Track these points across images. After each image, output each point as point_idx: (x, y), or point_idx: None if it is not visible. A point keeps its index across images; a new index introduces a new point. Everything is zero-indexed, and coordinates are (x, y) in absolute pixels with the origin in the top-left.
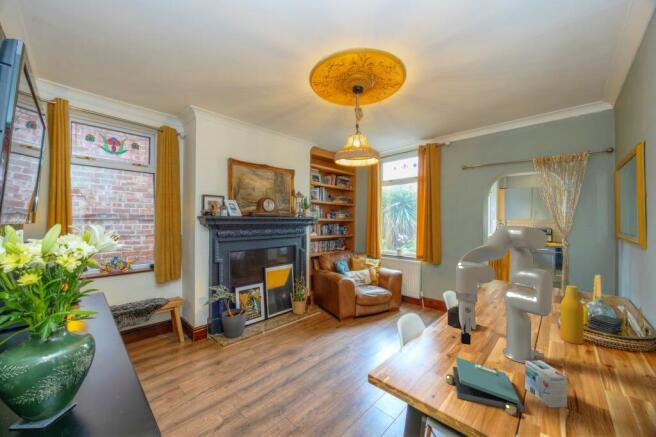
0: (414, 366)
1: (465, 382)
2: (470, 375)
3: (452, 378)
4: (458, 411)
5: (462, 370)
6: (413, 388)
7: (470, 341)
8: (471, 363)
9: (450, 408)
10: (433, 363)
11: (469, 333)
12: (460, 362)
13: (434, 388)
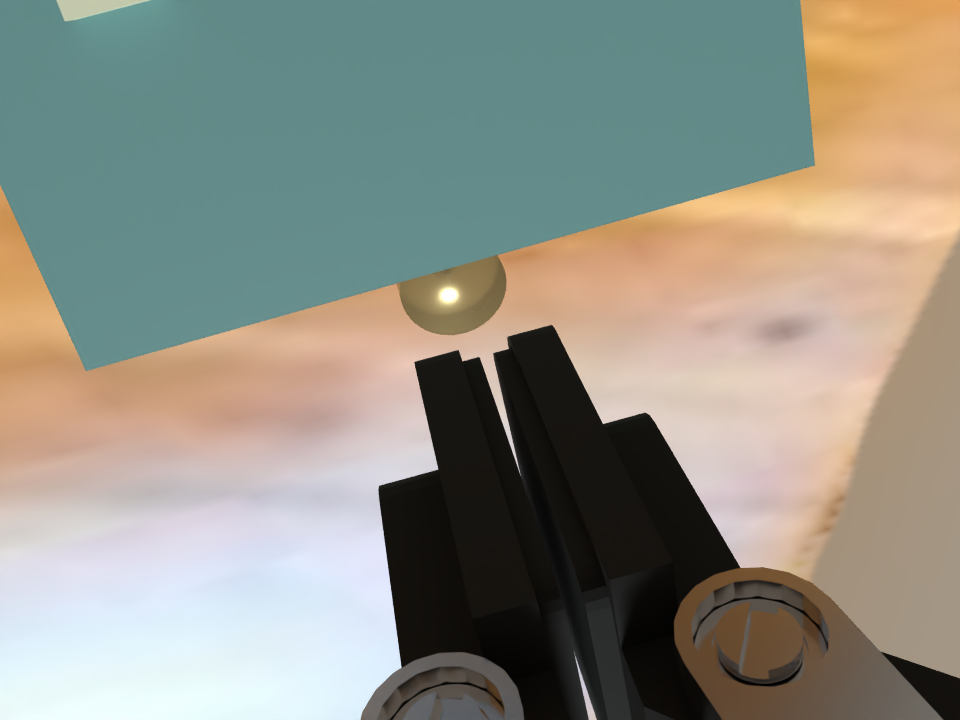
0: (348, 617)
1: (798, 95)
2: (549, 55)
3: (489, 257)
4: (943, 69)
5: (497, 194)
6: (741, 492)
7: (575, 381)
8: (38, 97)
9: (920, 149)
10: (118, 511)
11: (857, 652)
12: (233, 271)
13: (652, 356)
